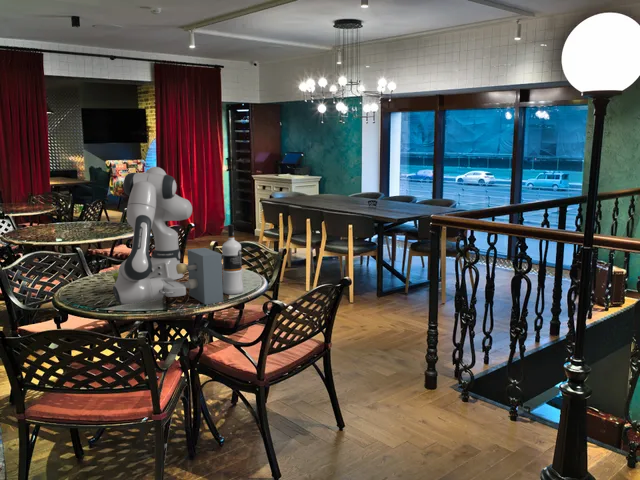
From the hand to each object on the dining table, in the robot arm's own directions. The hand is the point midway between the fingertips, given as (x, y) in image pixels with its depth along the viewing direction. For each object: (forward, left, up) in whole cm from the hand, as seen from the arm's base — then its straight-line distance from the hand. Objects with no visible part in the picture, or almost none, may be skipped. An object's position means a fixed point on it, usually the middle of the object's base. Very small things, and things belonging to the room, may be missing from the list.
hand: (189, 284), depth 242 cm
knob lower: (+6, +3, -2) cm, 7 cm away
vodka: (+17, +12, -7) cm, 22 cm away
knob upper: (+2, +1, +5) cm, 6 cm away
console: (+6, +3, -7) cm, 10 cm away
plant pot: (-31, +15, -7) cm, 36 cm away
